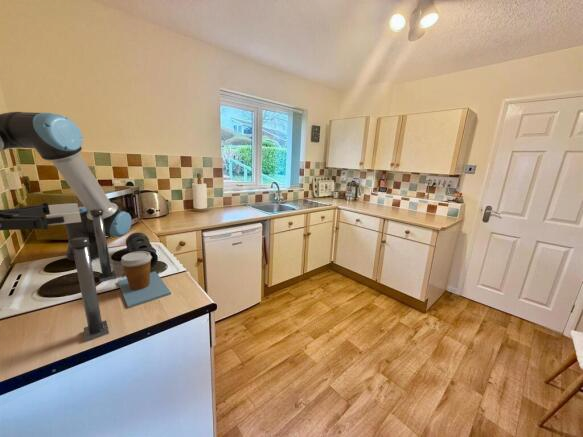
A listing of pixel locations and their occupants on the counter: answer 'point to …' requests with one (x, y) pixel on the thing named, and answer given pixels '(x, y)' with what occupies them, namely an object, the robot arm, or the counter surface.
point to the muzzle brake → (141, 246)
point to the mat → (144, 291)
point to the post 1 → (88, 289)
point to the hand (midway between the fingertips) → (79, 211)
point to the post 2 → (102, 246)
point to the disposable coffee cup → (137, 269)
